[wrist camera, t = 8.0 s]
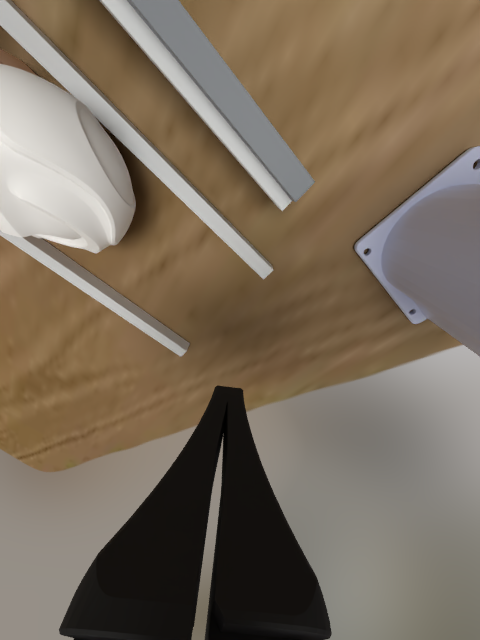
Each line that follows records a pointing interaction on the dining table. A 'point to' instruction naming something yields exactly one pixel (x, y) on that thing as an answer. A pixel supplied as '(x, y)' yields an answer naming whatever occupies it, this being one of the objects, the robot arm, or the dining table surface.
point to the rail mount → (205, 99)
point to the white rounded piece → (58, 167)
